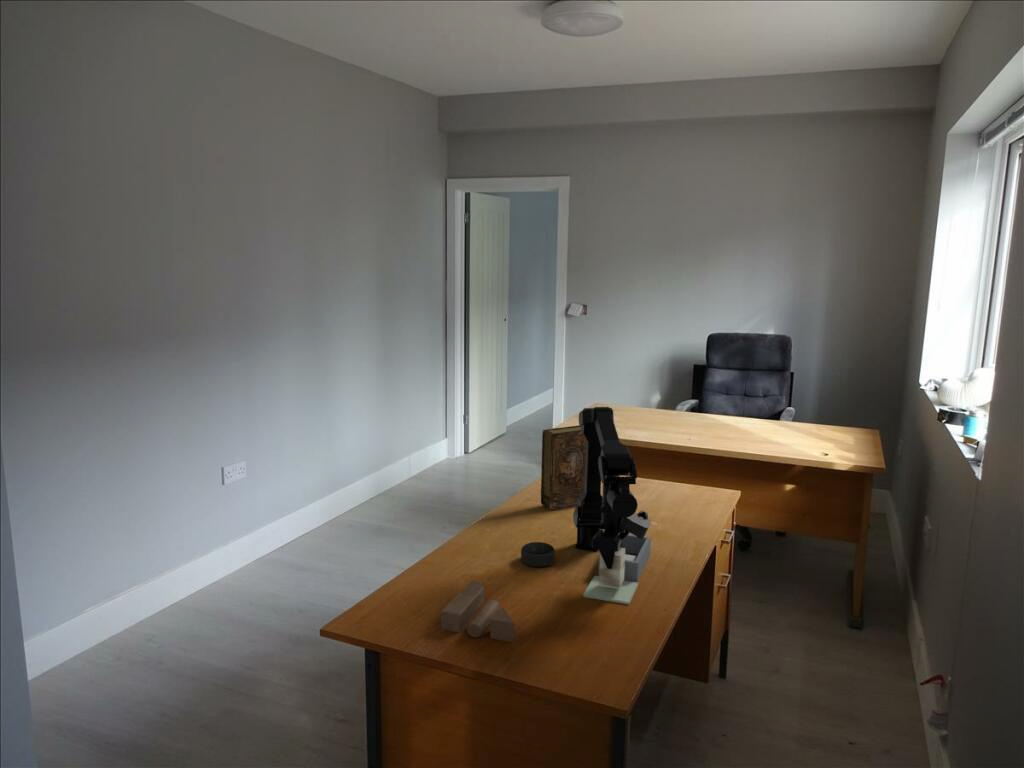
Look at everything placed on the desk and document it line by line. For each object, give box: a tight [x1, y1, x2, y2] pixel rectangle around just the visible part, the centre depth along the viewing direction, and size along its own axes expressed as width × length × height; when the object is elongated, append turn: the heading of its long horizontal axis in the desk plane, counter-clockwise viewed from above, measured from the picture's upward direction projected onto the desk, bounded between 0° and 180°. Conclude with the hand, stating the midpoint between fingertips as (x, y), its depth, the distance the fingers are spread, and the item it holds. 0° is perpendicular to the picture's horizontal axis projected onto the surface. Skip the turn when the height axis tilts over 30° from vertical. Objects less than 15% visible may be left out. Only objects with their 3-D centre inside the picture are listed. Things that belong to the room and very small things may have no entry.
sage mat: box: [582, 575, 639, 605], centre depth 185 cm, size 11×11×1 cm
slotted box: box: [597, 533, 652, 583], centre depth 199 cm, size 10×18×5 cm, turn 160°
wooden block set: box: [440, 580, 516, 644], centre depth 170 cm, size 17×6×18 cm
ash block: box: [599, 548, 626, 588], centre depth 184 cm, size 5×5×8 cm
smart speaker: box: [520, 541, 556, 568], centre depth 201 cm, size 9×9×4 cm
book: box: [540, 424, 586, 511], centre depth 242 cm, size 16×6×25 cm, turn 117°
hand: (612, 564), depth 184 cm, fingers closed on ash block, 5 cm apart
